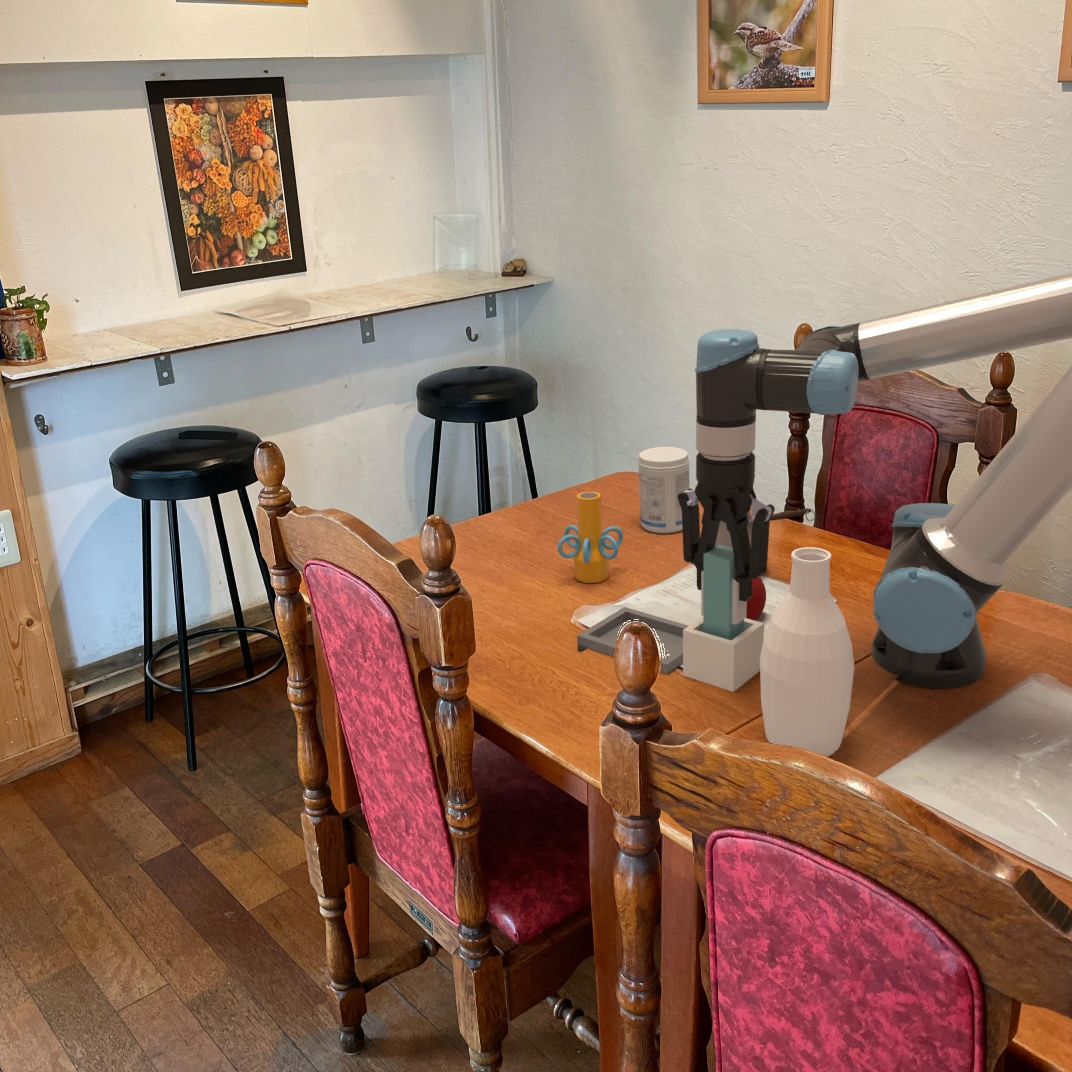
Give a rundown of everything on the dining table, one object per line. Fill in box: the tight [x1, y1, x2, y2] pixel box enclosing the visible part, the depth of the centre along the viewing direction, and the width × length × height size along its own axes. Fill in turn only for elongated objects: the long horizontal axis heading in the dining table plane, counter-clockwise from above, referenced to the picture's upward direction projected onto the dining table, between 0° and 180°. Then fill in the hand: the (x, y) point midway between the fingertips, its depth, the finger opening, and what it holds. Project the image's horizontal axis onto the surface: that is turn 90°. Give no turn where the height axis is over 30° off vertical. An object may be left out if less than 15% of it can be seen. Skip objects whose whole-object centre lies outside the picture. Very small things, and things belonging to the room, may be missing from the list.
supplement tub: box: [638, 446, 691, 534], centre depth 203 cm, size 10×10×15 cm
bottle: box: [759, 546, 855, 758], centre depth 128 cm, size 11×11×25 cm
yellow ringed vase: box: [557, 491, 624, 584], centre depth 181 cm, size 12×10×15 cm
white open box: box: [682, 616, 765, 693], centre depth 147 cm, size 8×8×8 cm
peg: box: [702, 545, 744, 640], centre depth 145 cm, size 4×4×18 cm
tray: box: [576, 606, 689, 675], centre depth 158 cm, size 16×12×2 cm
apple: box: [746, 576, 767, 621], centre depth 164 cm, size 9×9×10 cm
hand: (723, 615), depth 145 cm, fingers closed on peg, 4 cm apart
